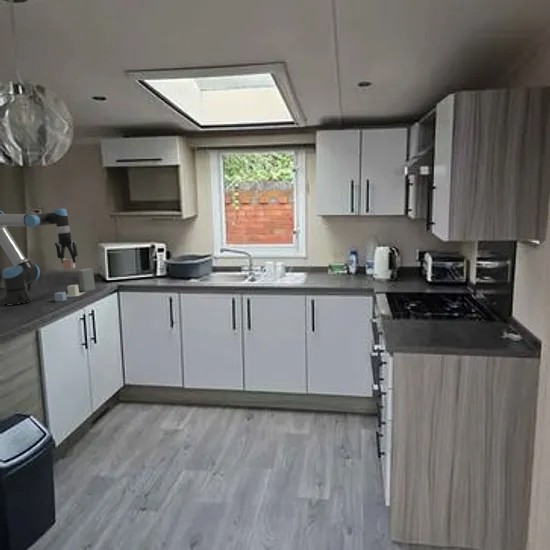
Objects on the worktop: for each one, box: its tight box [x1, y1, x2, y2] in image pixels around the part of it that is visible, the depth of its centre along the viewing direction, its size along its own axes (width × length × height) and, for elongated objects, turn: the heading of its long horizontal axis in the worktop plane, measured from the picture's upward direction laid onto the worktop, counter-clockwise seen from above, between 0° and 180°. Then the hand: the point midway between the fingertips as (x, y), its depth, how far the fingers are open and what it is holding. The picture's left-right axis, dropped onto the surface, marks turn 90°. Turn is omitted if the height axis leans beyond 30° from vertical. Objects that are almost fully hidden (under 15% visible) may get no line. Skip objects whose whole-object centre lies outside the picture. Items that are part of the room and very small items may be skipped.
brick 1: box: [53, 291, 67, 304], centre depth 305 cm, size 5×5×6 cm
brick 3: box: [66, 284, 80, 296], centre depth 320 cm, size 5×5×6 cm
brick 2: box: [62, 258, 73, 270], centre depth 316 cm, size 5×5×6 cm
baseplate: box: [66, 291, 87, 298], centre depth 321 cm, size 12×12×1 cm
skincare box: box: [77, 267, 96, 292], centre depth 332 cm, size 8×7×16 cm
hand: (69, 267), depth 317 cm, fingers closed on brick 2, 5 cm apart
